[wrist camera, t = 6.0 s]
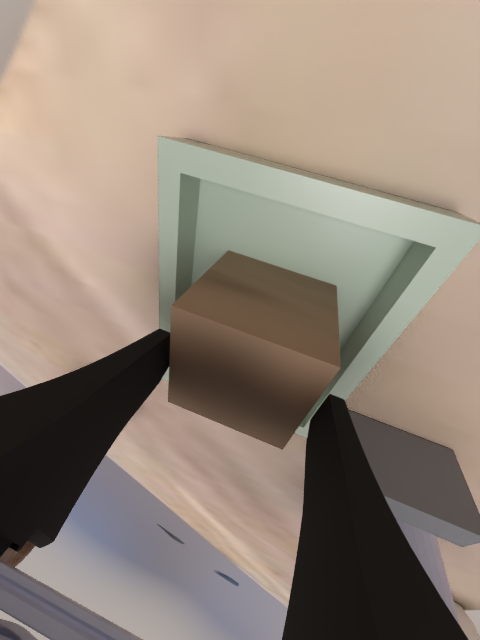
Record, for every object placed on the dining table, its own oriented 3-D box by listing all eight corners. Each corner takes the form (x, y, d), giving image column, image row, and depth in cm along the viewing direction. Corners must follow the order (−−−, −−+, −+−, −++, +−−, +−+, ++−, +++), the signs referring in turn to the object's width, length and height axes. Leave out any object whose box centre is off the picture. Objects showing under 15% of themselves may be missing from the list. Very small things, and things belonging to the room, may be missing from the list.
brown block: (296, 362, 16) (282, 449, 11) (213, 331, 17) (168, 401, 12) (336, 285, 12) (340, 367, 8) (228, 250, 13) (171, 305, 8)
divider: (433, 461, 18) (461, 547, 14) (323, 418, 19) (322, 487, 15) (452, 450, 17) (490, 540, 13) (334, 404, 18) (336, 475, 14)
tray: (313, 410, 19) (311, 440, 17) (176, 356, 20) (159, 378, 18) (457, 212, 10) (489, 227, 8) (188, 138, 11) (157, 136, 9)
